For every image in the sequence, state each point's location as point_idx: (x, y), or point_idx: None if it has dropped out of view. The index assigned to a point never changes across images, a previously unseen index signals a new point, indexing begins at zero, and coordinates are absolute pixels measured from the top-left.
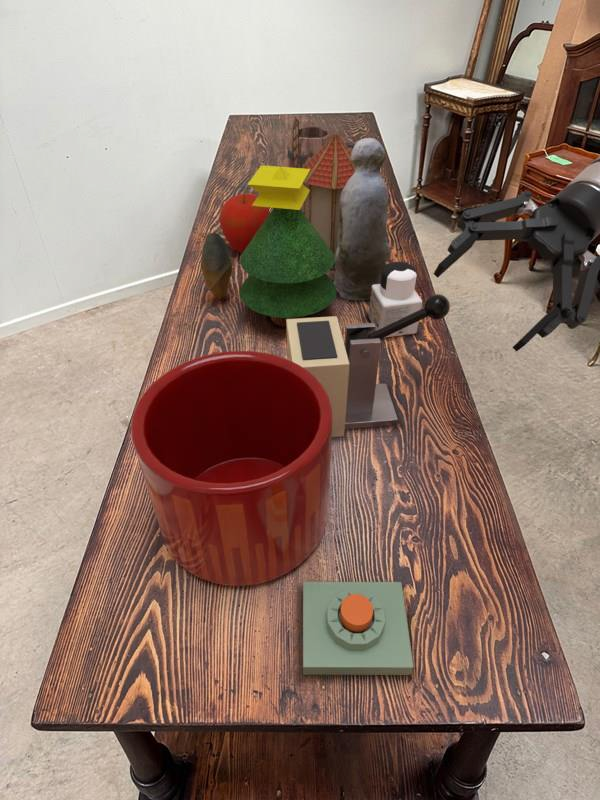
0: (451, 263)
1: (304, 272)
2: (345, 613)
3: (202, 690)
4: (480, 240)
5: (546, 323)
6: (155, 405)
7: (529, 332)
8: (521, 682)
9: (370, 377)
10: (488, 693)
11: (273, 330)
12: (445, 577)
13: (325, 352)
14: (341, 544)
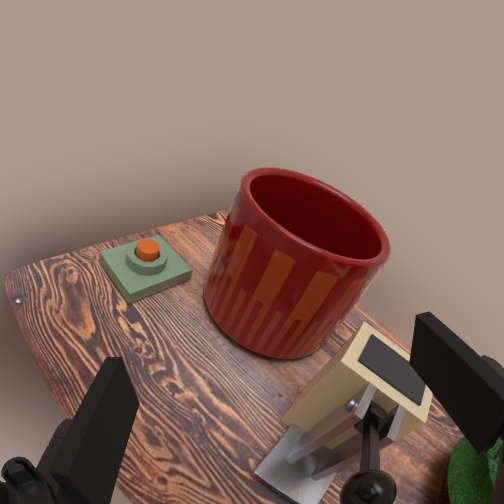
0: (434, 371)
1: (498, 455)
2: (153, 241)
3: (196, 226)
4: (495, 481)
5: (75, 415)
6: (355, 214)
7: (110, 377)
8: (32, 280)
9: (320, 433)
10: (52, 268)
11: (443, 470)
12: (99, 328)
13: (371, 356)
14: (190, 318)
